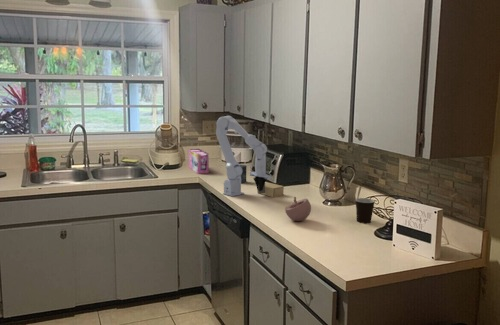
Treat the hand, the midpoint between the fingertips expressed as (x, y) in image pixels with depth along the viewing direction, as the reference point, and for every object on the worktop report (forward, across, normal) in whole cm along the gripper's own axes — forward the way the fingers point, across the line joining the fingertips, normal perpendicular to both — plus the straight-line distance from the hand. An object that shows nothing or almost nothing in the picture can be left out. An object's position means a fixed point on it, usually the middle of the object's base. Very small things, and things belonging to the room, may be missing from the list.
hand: (260, 190), depth 273 cm
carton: (+3, 0, +8) cm, 9 cm away
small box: (+4, -36, +15) cm, 39 cm away
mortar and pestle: (+4, +44, -19) cm, 48 cm away
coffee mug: (+4, +64, +5) cm, 65 cm away
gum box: (+4, -79, +19) cm, 81 cm away
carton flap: (+3, +1, +2) cm, 4 cm away
